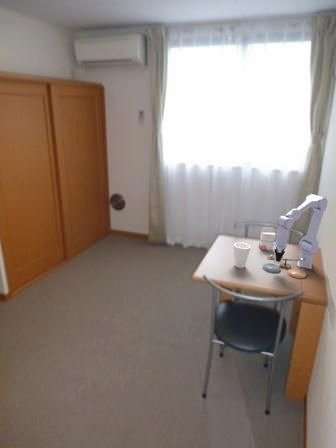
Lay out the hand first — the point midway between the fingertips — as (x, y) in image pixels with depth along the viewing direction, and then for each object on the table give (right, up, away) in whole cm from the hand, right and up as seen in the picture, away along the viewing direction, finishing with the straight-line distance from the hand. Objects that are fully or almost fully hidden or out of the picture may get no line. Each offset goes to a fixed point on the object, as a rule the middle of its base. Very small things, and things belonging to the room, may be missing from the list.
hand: (278, 259), depth 185 cm
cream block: (0, -1, 0) cm, 2 cm away
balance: (+8, -5, +11) cm, 15 cm away
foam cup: (-20, -5, +9) cm, 23 cm away
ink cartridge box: (+4, +3, +36) cm, 36 cm away
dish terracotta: (+11, -9, +2) cm, 14 cm away
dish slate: (-2, -6, +7) cm, 10 cm away
